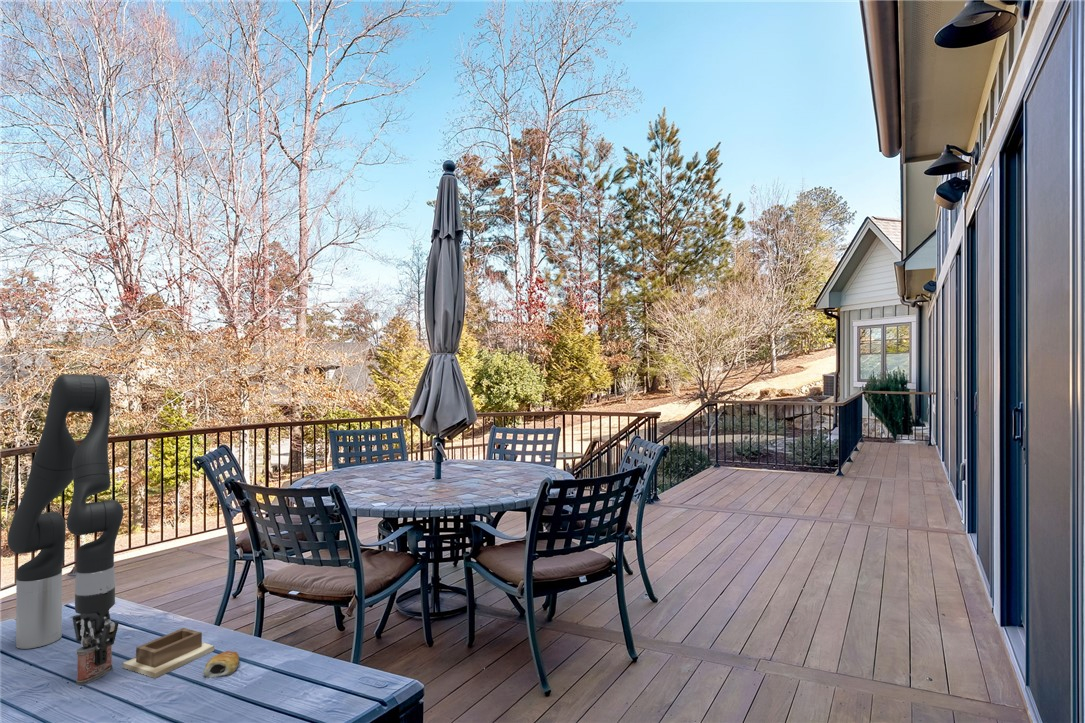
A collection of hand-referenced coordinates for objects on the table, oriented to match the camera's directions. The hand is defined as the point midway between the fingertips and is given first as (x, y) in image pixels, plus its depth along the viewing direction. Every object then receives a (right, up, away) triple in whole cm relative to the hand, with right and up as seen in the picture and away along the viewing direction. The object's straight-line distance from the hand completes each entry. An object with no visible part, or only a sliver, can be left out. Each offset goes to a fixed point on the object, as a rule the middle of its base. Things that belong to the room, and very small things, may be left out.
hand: (95, 662), depth 140 cm
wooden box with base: (+12, -3, +8) cm, 15 cm away
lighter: (0, -3, 0) cm, 3 cm away
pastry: (+28, -4, +3) cm, 28 cm away
